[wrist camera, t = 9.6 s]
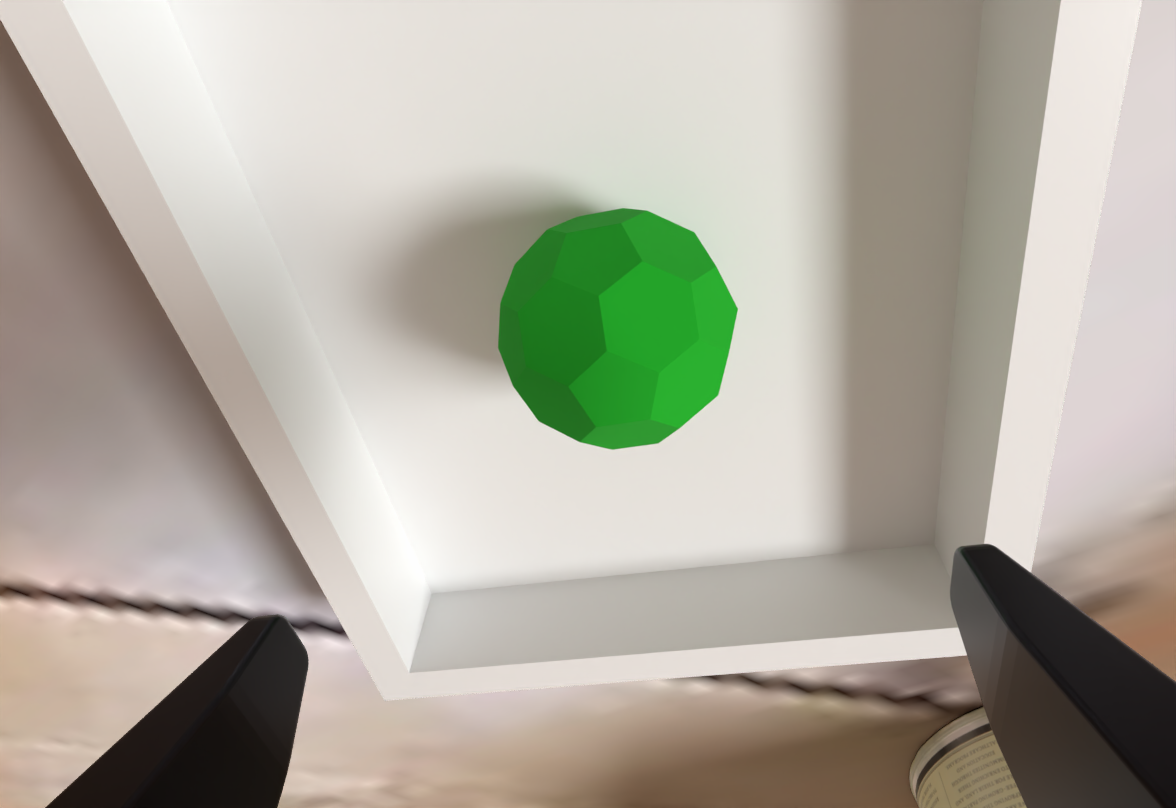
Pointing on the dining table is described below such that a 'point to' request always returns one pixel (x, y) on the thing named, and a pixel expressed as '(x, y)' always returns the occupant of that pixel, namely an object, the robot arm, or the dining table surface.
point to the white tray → (591, 185)
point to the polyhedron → (616, 328)
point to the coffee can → (963, 768)
